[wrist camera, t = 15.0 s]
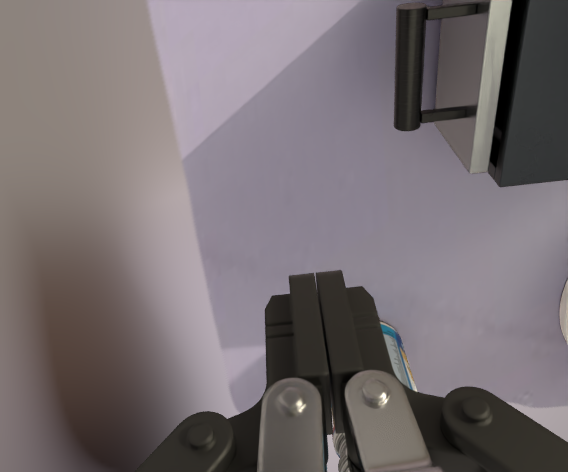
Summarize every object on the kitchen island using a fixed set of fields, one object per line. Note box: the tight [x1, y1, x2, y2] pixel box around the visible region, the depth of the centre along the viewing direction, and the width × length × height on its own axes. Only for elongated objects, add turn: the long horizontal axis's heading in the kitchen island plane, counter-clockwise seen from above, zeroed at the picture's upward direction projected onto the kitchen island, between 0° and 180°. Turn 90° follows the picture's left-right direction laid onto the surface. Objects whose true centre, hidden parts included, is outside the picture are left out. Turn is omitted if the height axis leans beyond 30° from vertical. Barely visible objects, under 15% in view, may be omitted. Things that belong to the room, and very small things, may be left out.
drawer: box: [394, 0, 522, 174], centre depth 31 cm, size 19×13×8 cm, turn 96°
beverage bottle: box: [331, 322, 417, 472], centre depth 45 cm, size 8×8×20 cm
